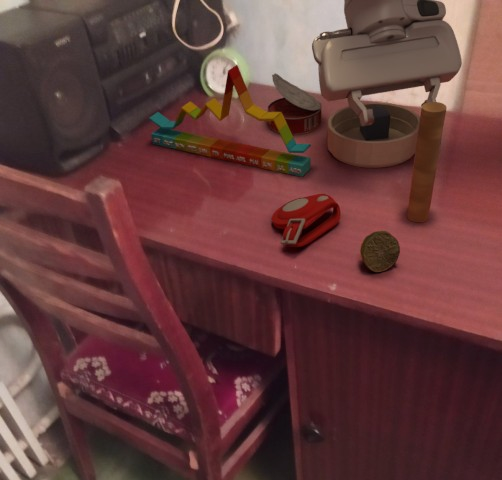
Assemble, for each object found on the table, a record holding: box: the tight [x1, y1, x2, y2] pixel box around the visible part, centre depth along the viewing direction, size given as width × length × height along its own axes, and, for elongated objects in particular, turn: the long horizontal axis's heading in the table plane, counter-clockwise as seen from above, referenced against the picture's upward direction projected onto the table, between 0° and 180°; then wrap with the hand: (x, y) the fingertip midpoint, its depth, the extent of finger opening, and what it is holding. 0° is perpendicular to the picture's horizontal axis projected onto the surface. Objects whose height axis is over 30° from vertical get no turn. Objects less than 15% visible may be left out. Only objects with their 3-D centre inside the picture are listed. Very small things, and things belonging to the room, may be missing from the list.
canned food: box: [267, 73, 323, 136], centre depth 107 cm, size 11×10×10 cm
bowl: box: [326, 102, 420, 169], centre depth 98 cm, size 15×15×4 cm
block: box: [360, 106, 390, 141], centre depth 100 cm, size 4×4×4 cm
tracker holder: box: [271, 193, 341, 248], centre depth 82 cm, size 12×4×10 cm
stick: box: [406, 101, 447, 223], centre depth 78 cm, size 3×3×16 cm
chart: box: [148, 64, 312, 177], centre depth 96 cm, size 30×3×15 cm, turn 60°
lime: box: [359, 230, 401, 273], centre depth 75 cm, size 4×5×5 cm
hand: (399, 118), depth 83 cm, fingers open, 8 cm apart
